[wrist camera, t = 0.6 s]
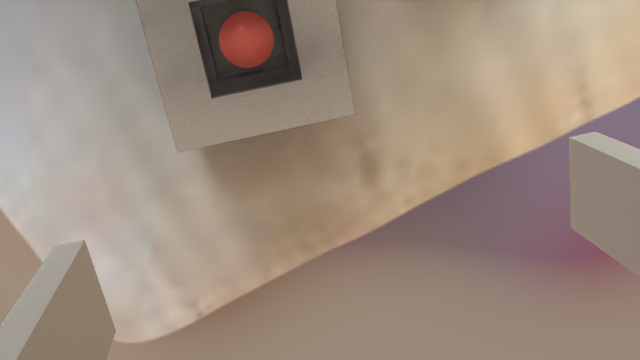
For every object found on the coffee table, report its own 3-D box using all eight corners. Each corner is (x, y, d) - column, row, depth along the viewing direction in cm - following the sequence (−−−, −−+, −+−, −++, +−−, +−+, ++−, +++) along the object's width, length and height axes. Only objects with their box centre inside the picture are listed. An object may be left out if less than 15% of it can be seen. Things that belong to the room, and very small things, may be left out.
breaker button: (214, 16, 33) (213, 17, 31) (265, 6, 33) (267, 7, 31) (226, 68, 34) (226, 72, 32) (276, 58, 34) (278, 61, 32)
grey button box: (147, -33, 36) (124, -40, 28) (304, -62, 36) (322, -78, 29) (188, 123, 39) (177, 152, 31) (332, 93, 40) (354, 114, 32)
